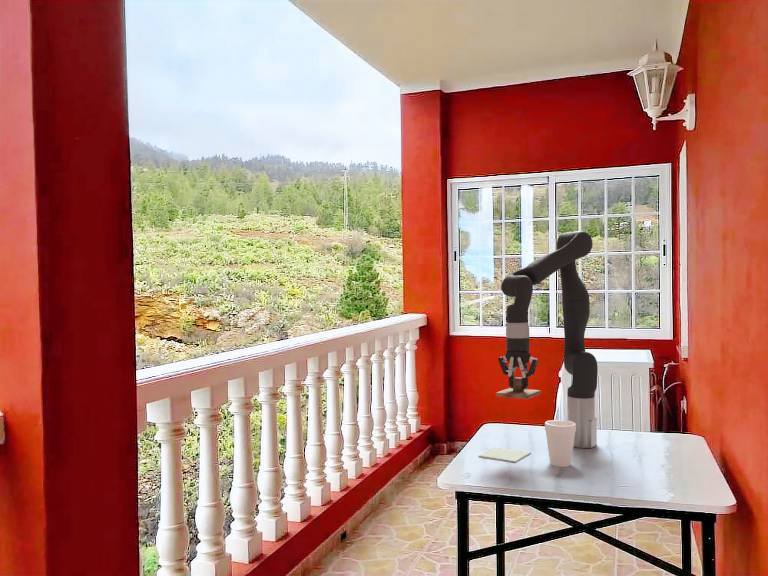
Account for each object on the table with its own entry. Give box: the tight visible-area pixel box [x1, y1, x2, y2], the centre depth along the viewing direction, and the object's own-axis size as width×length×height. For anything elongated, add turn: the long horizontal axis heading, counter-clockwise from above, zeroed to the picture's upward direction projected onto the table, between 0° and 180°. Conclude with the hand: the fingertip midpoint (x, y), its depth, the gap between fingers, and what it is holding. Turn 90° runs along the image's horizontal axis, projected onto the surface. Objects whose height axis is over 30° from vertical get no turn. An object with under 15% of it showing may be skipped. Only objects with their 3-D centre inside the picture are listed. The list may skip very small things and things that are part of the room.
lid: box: [495, 376, 542, 400], centre depth 218 cm, size 11×11×6 cm
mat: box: [478, 446, 531, 464], centre depth 221 cm, size 13×13×1 cm
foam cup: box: [544, 419, 576, 468], centre depth 210 cm, size 10×9×13 cm
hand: (518, 388), depth 218 cm, fingers closed on lid, 3 cm apart
